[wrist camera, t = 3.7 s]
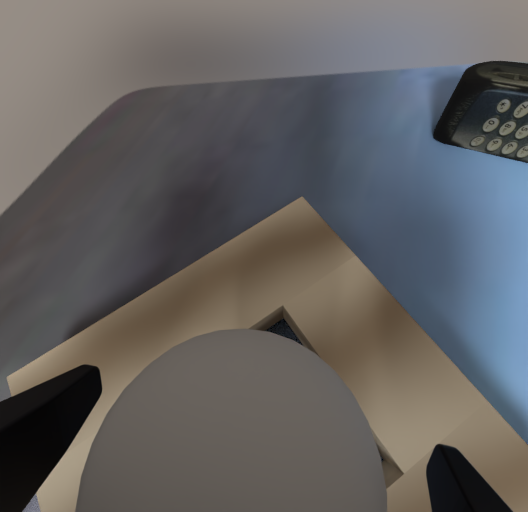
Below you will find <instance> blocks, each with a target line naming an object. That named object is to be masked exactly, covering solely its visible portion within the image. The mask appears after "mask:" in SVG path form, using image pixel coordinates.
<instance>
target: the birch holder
mask: <svg viewBox="0 0 528 512" xmlns="http://www.w3.org/2000/svg"><path fill="white" fill-rule="evenodd" d="M283 318H284V319H285V321H286V322H287V323H288V325H289V326H290V328H291V329H292V330H293V332H294V333H295V335H296V336H297V338H298V339H299V340H300V342H301V343H302V345H303V346H304V347H306V348H307V349H309V350H311V351H312V352H314V353H315V354H316V355H318V356H319V357H320V358H321V359H322V360H323V361H324V362H326V363H327V364H328V365H329V366H330V367H331V368H332V369H334V370H335V371H336V373H337V374H338V375H339V377H340V378H341V379H342V380H343V382H344V383H345V384H346V385H347V387H348V388H349V389H350V390H351V392H352V393H353V395H354V396H355V398H356V400H357V402H358V404H359V406H360V407H361V409H362V411H363V413H364V415H365V416H366V418H367V420H368V423H369V425H370V428H371V431H372V434H373V437H374V440H375V443H376V445H377V448H378V451H379V454H380V455H381V456H382V458H383V459H384V460H383V461H382V468H383V473H384V479H385V485H386V490H387V512H432V509H431V503H430V497H429V490H428V484H427V478H426V467H427V464H428V461H429V459H430V456H431V454H432V452H433V449H434V447H435V445H437V444H444V445H448V446H453V447H455V448H457V449H458V450H459V451H460V452H461V453H462V454H463V455H464V457H465V458H466V459H467V460H468V461H469V462H470V463H471V464H472V466H473V467H474V468H475V469H476V470H477V471H478V472H479V473H480V475H481V476H482V477H483V478H484V479H485V480H486V481H487V483H488V484H489V485H490V486H491V487H492V488H493V489H494V490H495V492H496V493H497V494H498V495H499V496H500V497H501V498H502V499H503V501H504V502H505V503H506V504H507V505H508V506H509V507H510V508H511V510H512V511H513V512H528V445H527V444H526V443H525V441H524V440H523V439H522V438H521V437H520V436H519V435H518V434H517V433H516V432H515V430H514V429H513V428H512V427H511V426H510V425H509V424H508V423H507V422H506V420H505V419H504V418H503V417H502V416H501V415H500V414H499V413H498V412H497V411H496V409H495V408H494V407H493V406H492V405H491V404H490V403H489V402H488V401H487V400H486V398H485V397H484V396H483V395H482V394H481V393H480V392H479V391H478V390H477V389H476V387H475V386H474V385H473V384H472V383H471V382H470V381H469V380H468V379H467V377H466V376H465V375H464V374H463V373H462V372H461V371H460V370H459V369H458V368H457V366H456V365H455V364H454V363H453V362H452V361H451V360H450V359H449V358H448V357H447V355H446V354H445V353H444V352H443V351H442V350H441V349H440V348H439V347H438V345H437V344H436V343H435V342H434V341H433V340H432V339H431V338H430V337H429V336H428V334H427V333H426V332H425V331H424V330H423V329H422V328H421V327H420V326H419V325H418V323H417V322H416V321H415V320H414V319H413V318H412V317H411V316H410V315H409V314H408V312H407V311H406V310H405V309H404V308H403V307H402V306H401V305H400V304H399V302H398V301H397V300H396V299H395V298H394V297H393V296H392V295H391V294H390V293H389V291H388V290H387V289H386V288H385V287H384V286H383V285H382V284H381V283H380V282H379V280H378V279H377V278H376V277H375V276H374V275H373V274H372V273H371V272H370V271H369V269H368V268H367V267H366V266H365V265H364V264H363V263H362V262H361V261H360V259H359V258H358V257H357V256H356V255H355V254H354V253H353V252H352V251H351V250H350V248H349V247H348V246H347V245H346V244H345V243H344V242H343V241H342V240H341V239H340V237H339V236H338V235H337V234H336V233H335V232H334V231H333V230H332V229H331V228H330V226H329V225H328V224H327V223H326V222H325V221H324V220H323V219H322V218H321V216H320V215H319V214H318V213H317V212H316V211H315V210H314V209H313V208H312V207H311V205H310V204H309V203H308V202H307V201H306V200H305V199H304V198H303V197H300V198H298V199H297V200H295V201H293V202H292V203H290V204H289V205H287V206H285V207H284V208H282V209H280V210H279V211H277V212H276V213H274V214H272V215H271V216H269V217H267V218H266V219H264V220H263V221H261V222H259V223H258V224H256V225H254V226H253V227H251V228H249V229H248V230H246V231H245V232H243V233H241V234H240V235H238V236H236V237H235V238H233V239H232V240H230V241H228V242H227V243H225V244H223V245H222V246H220V247H218V248H217V249H215V250H214V251H212V252H210V253H209V254H207V255H205V256H204V257H202V258H201V259H199V260H197V261H196V262H194V263H192V264H191V265H189V266H188V267H186V268H184V269H183V270H181V271H179V272H178V273H176V274H174V275H173V276H171V277H170V278H168V279H166V280H165V281H163V282H161V283H160V284H158V285H157V286H155V287H153V288H152V289H150V290H148V291H147V292H145V293H143V294H142V295H140V296H139V297H137V298H135V299H134V300H132V301H130V302H129V303H127V304H126V305H124V306H122V307H121V308H119V309H117V310H116V311H114V312H112V313H111V314H109V315H108V316H106V317H104V318H103V319H101V320H99V321H98V322H96V323H95V324H93V325H91V326H90V327H88V328H86V329H85V330H83V331H82V332H80V333H78V334H77V335H75V336H73V337H72V338H70V339H68V340H67V341H65V342H64V343H62V344H60V345H59V346H57V347H55V348H54V349H52V350H51V351H49V352H47V353H46V354H44V355H42V356H41V357H39V358H37V359H36V360H34V361H33V362H31V363H29V364H28V365H26V366H24V367H23V368H21V369H20V370H18V371H16V372H15V373H13V374H11V375H10V376H8V377H7V380H8V384H9V388H10V392H11V396H14V395H17V394H19V393H21V392H23V391H25V390H28V389H30V388H32V387H34V386H36V385H39V384H41V383H43V382H45V381H47V380H50V379H52V378H54V377H56V376H58V375H61V374H63V373H65V372H67V371H69V370H72V369H74V368H76V367H78V366H80V365H83V364H88V365H93V366H97V367H98V368H99V369H100V374H101V381H102V394H101V396H100V398H99V400H98V401H97V403H96V405H95V406H94V408H93V410H92V411H91V413H90V414H89V416H88V418H87V419H86V421H85V423H84V424H83V426H82V427H81V429H80V431H79V432H78V434H77V435H76V437H75V439H74V440H73V442H72V444H71V445H70V447H69V448H68V450H67V451H66V453H65V454H64V455H63V457H62V458H61V460H60V461H59V462H58V464H57V465H56V466H55V468H54V469H53V471H52V472H51V473H50V475H49V476H48V477H47V479H46V480H45V481H44V483H43V484H42V485H41V487H40V488H39V489H38V491H37V492H36V494H37V498H38V502H39V506H40V510H41V512H75V509H76V503H77V497H78V491H79V486H80V480H81V475H82V472H83V469H84V466H85V463H86V460H87V457H88V454H89V451H90V448H91V445H92V442H93V440H94V438H95V436H96V434H97V432H98V430H99V428H100V426H101V424H102V422H103V420H104V418H105V416H106V414H107V413H108V411H109V410H110V408H111V407H112V406H113V404H114V403H115V401H116V400H117V399H118V397H119V396H120V394H121V393H122V391H123V390H124V389H125V388H126V387H127V386H128V385H129V384H130V383H131V382H132V381H133V379H134V378H135V377H136V376H137V375H138V374H139V373H140V372H141V371H142V370H143V369H144V368H145V367H147V366H148V365H149V364H150V363H151V362H153V361H154V360H155V359H157V358H158V357H160V356H161V355H162V354H164V353H165V352H166V351H168V350H169V349H171V348H172V347H174V346H176V345H178V344H180V343H182V342H185V341H187V340H189V339H191V338H193V337H195V336H199V335H203V334H206V333H210V332H214V331H218V330H230V329H252V330H260V331H265V330H267V329H268V328H270V327H271V326H273V325H274V324H275V323H277V322H278V321H280V320H281V319H283Z"/></svg>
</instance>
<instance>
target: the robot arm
mask: <svg viewBox="0 0 528 512" xmlns="http://www.w3.org/2000/svg"><path fill="white" fill-rule="evenodd" d="M101 394H102V381H101V374H100V369H99V368H98V367H97V366H93V365H88V364H83V365H80V366H78V367H76V368H74V369H72V370H69V371H67V372H65V373H63V374H61V375H58V376H56V377H54V378H52V379H50V380H47V381H45V382H43V383H41V384H39V385H36V386H34V387H32V388H30V389H28V390H25V391H23V392H21V393H19V394H17V395H14V396H12V397H10V398H8V399H6V400H3V401H1V402H0V512H22V511H23V510H24V508H25V507H26V506H27V504H28V503H29V502H30V500H31V499H32V498H33V496H34V495H35V494H36V492H37V491H38V489H39V488H40V487H41V485H42V484H43V483H44V481H45V480H46V479H47V477H48V476H49V475H50V473H51V472H52V471H53V469H54V468H55V466H56V465H57V464H58V462H59V461H60V460H61V458H62V457H63V455H64V454H65V453H66V451H67V450H68V448H69V447H70V445H71V444H72V442H73V440H74V439H75V437H76V435H77V434H78V432H79V431H80V429H81V427H82V426H83V424H84V423H85V421H86V419H87V418H88V416H89V414H90V413H91V411H92V410H93V408H94V406H95V405H96V403H97V401H98V400H99V398H100V396H101ZM426 478H427V484H428V490H429V497H430V503H431V509H432V512H513V511H512V510H511V508H510V507H509V506H508V505H507V504H506V503H505V502H504V501H503V499H502V498H501V497H500V496H499V495H498V494H497V493H496V492H495V490H494V489H493V488H492V487H491V486H490V485H489V484H488V483H487V481H486V480H485V479H484V478H483V477H482V476H481V475H480V473H479V472H478V471H477V470H476V469H475V468H474V467H473V466H472V464H471V463H470V462H469V461H468V460H467V459H466V458H465V457H464V455H463V454H462V453H461V452H460V451H459V450H458V449H457V448H455V447H453V446H448V445H444V444H437V445H435V447H434V449H433V452H432V454H431V456H430V459H429V461H428V464H427V467H426Z"/></svg>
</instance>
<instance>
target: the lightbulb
mask: <svg viewBox="0 0 528 512" xmlns="http://www.w3.org/2000/svg"><path fill="white" fill-rule="evenodd" d="M75 512H387V490H386V485H385V479H384V473H383V468H382V462H381V457H380V454H379V451H378V448H377V445H376V443H375V440H374V437H373V434H372V431H371V428H370V425H369V423H368V420H367V418H366V416H365V415H364V413H363V411H362V409H361V407H360V406H359V404H358V402H357V400H356V398H355V396H354V395H353V393H352V392H351V390H350V389H349V388H348V387H347V385H346V384H345V383H344V382H343V380H342V379H341V378H340V377H339V375H338V374H337V373H336V371H335V370H334V369H332V368H331V367H330V366H329V365H328V364H327V363H326V362H324V361H323V360H322V359H321V358H320V357H319V356H318V355H316V354H315V353H314V352H312V351H311V350H309V349H307V348H306V347H304V346H302V345H300V344H299V343H297V342H295V341H294V340H291V339H289V338H286V337H283V336H280V335H277V334H274V333H271V332H267V331H260V330H252V329H230V330H218V331H214V332H210V333H206V334H203V335H199V336H195V337H193V338H191V339H189V340H187V341H185V342H182V343H180V344H178V345H176V346H174V347H172V348H171V349H169V350H168V351H166V352H165V353H164V354H162V355H161V356H160V357H158V358H157V359H155V360H154V361H153V362H151V363H150V364H149V365H148V366H147V367H145V368H144V369H143V370H142V371H141V372H140V373H139V374H138V375H137V376H136V377H135V378H134V379H133V381H132V382H131V383H130V384H129V385H128V386H127V387H126V388H125V389H124V390H123V391H122V393H121V394H120V396H119V397H118V399H117V400H116V401H115V403H114V404H113V406H112V407H111V408H110V410H109V411H108V413H107V414H106V416H105V418H104V420H103V422H102V424H101V426H100V428H99V430H98V432H97V434H96V436H95V438H94V440H93V442H92V445H91V448H90V451H89V454H88V457H87V460H86V463H85V466H84V469H83V472H82V475H81V480H80V486H79V491H78V497H77V503H76V509H75Z"/></svg>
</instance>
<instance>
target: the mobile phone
mask: <svg viewBox="0 0 528 512" xmlns="http://www.w3.org/2000/svg"><path fill="white" fill-rule="evenodd" d="M433 136H434V139H436V140H437V141H439V142H442V143H444V144H449V145H453V146H457V147H461V148H466V149H470V150H475V151H479V152H483V153H487V154H492V155H496V156H500V157H504V158H509V159H513V160H517V161H522V162H526V163H528V64H526V63H518V62H508V61H490V62H483V63H478V64H475V65H473V66H471V67H469V68H468V69H466V71H465V72H464V74H463V75H462V77H461V79H460V81H459V83H458V85H457V87H456V89H455V90H454V92H453V94H452V96H451V98H450V100H449V102H448V104H447V106H446V108H445V110H444V112H443V114H442V116H441V117H440V119H439V121H438V123H437V125H436V127H435V130H434V134H433Z"/></svg>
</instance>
